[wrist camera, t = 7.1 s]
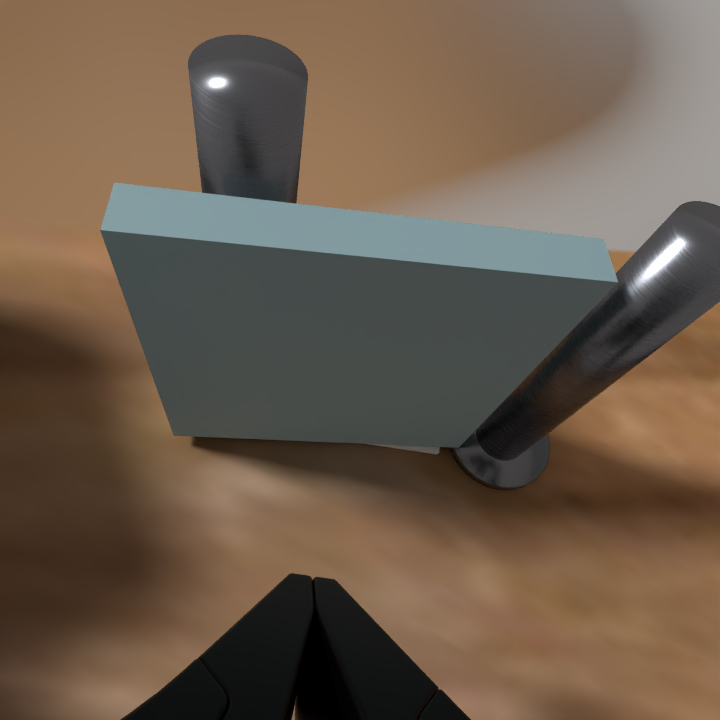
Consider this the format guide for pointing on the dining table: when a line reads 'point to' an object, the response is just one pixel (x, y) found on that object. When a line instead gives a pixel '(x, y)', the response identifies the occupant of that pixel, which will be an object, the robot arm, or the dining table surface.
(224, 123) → the post
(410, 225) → the gate
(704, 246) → the hinge post
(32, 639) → the dining table surface
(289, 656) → the robot arm
